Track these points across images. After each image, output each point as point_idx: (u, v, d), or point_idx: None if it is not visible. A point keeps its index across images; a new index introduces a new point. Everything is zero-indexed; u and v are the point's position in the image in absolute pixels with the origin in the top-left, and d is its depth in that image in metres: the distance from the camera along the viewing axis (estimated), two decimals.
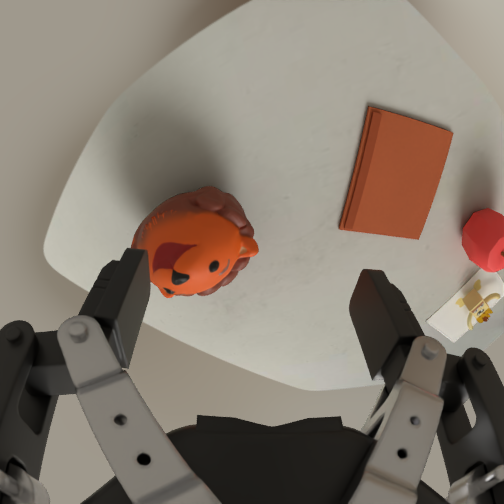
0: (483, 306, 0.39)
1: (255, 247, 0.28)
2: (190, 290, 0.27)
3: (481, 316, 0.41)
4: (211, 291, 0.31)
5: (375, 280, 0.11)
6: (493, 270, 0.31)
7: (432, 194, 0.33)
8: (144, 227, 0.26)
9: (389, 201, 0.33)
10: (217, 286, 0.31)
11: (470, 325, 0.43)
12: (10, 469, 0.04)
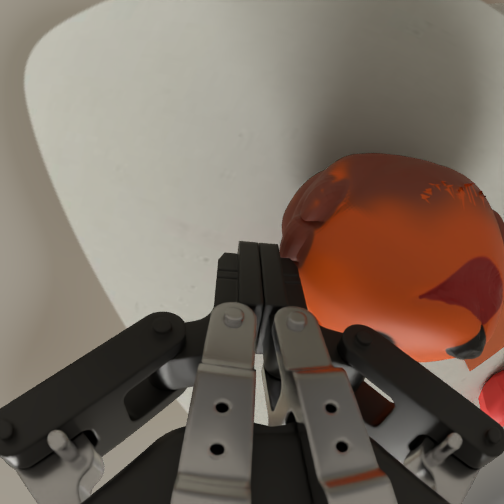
0: None
1: None
2: None
3: None
4: None
5: (263, 252, 0.11)
6: None
7: None
8: (437, 184, 0.10)
9: None
10: None
11: None
12: (79, 438, 0.05)
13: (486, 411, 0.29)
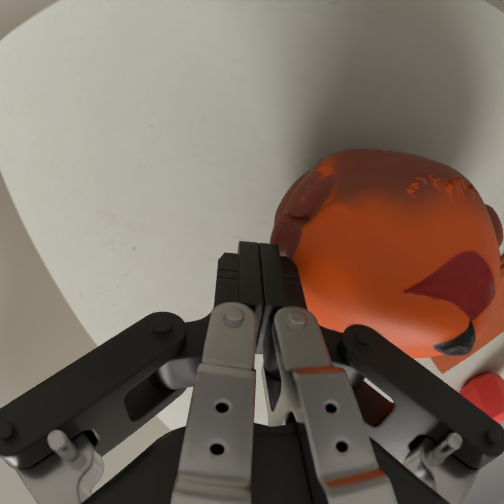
0: None
1: None
2: None
3: None
4: None
5: (263, 252, 0.11)
6: None
7: (487, 341, 0.26)
8: (424, 178, 0.10)
9: None
10: None
11: None
12: (80, 438, 0.05)
13: None
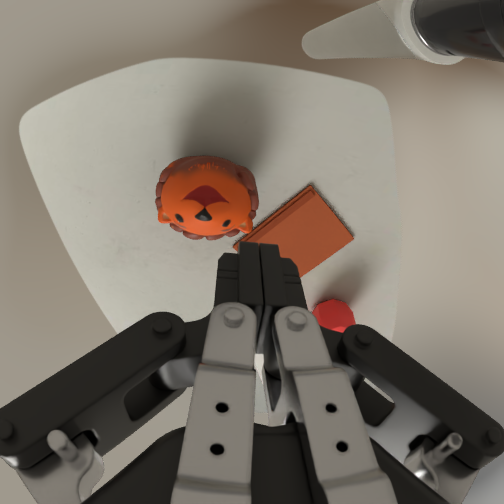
0: None
1: (251, 228, 0.37)
2: (195, 228, 0.34)
3: None
4: (196, 237, 0.37)
5: (263, 252, 0.11)
6: None
7: (311, 267, 0.48)
8: (195, 164, 0.32)
9: None
10: (202, 237, 0.38)
11: None
12: (80, 438, 0.05)
13: None
